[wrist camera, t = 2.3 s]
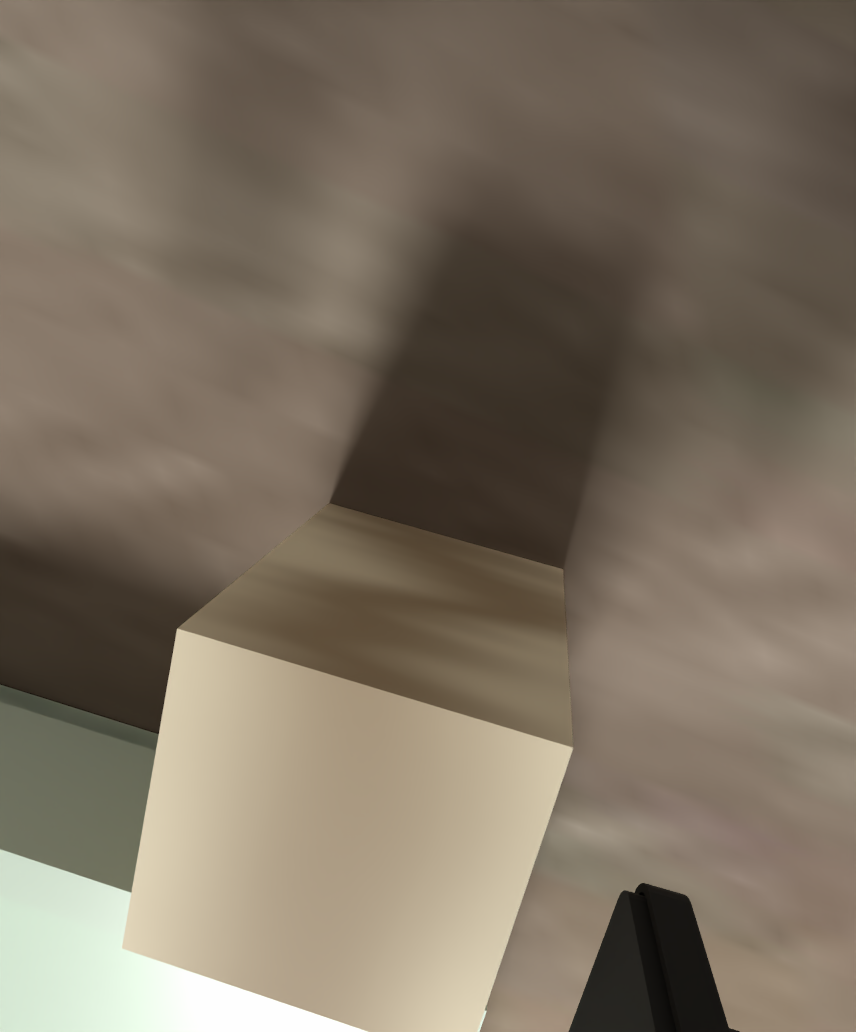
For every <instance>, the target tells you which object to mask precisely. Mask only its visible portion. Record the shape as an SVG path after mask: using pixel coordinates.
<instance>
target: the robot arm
mask: <svg viewBox="0 0 856 1032" xmlns="http://www.w3.org/2000/svg"><path fill="white" fill-rule="evenodd" d="M569 1032H739V1031H737V1030H733V1029H730V1028H729V1027H728V1024H727V1020H726V1017H725V1014H724V1011H723V1007H722V1004H721V1001H720V997H719V994H718V991H717V987H716V984H715V981H714V977H713V974H712V971H711V968H710V964H709V961H708V958H707V954H706V951H705V948H704V944H703V941H702V938H701V935H700V931H699V928H698V925H697V921H696V918H695V915H694V911H693V908H692V905H691V902H690V900H689V898H688V897H687V896H686V895H683V894H680V893H676V892H673V891H670V890H666V889H663V888H659V887H656V886H652V885H649V884H645V883H642V884H640V885H639V886H638V887H637V888H636V891H635V893H633V892H629V891H626V890H625V891H623V892H622V893H621V894H620V896H619V898H618V901H617V903H616V906H615V909H614V911H613V914H612V917H611V919H610V922H609V925H608V928H607V930H606V933H605V936H604V938H603V941H602V944H601V946H600V949H599V952H598V954H597V957H596V960H595V963H594V965H593V968H592V971H591V973H590V976H589V979H588V981H587V984H586V987H585V989H584V992H583V995H582V997H581V1000H580V1003H579V1006H578V1008H577V1011H576V1014H575V1016H574V1019H573V1022H572V1024H571V1027H570V1030H569Z"/></svg>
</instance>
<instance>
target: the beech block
mask: <svg viewBox="0 0 856 1032" xmlns="http://www.w3.org/2000/svg"><path fill="white" fill-rule="evenodd" d="M572 750H573V733H572V715H571V698H570V681H569V663H568V646H567V629H566V611H565V594H564V577H563V569H560V568H557V567H553V566H550V565H546V564H542V563H539V562H535V561H532V560H528V559H525V558H521V557H518V556H514V555H511V554H507V553H504V552H500V551H497V550H493V549H489V548H486V547H482V546H479V545H475V544H472V543H468V542H465V541H461V540H458V539H454V538H451V537H447V536H444V535H440V534H436V533H433V532H429V531H426V530H422V529H419V528H415V527H412V526H408V525H405V524H401V523H398V522H394V521H390V520H387V519H383V518H380V517H376V516H373V515H369V514H366V513H362V512H359V511H355V510H352V509H348V508H345V507H341V506H337V505H334V504H330V503H329V504H328V505H326V506H325V507H324V508H323V509H322V510H320V511H319V512H318V513H317V514H315V515H314V516H313V517H312V518H311V519H309V520H308V521H307V522H306V523H305V524H303V525H302V526H301V527H300V528H298V529H297V530H296V531H295V532H294V533H292V534H291V535H290V536H289V537H288V538H286V539H285V540H284V541H283V542H281V543H280V544H279V545H278V546H277V547H275V548H274V549H273V550H272V551H271V552H269V553H268V554H267V555H266V556H264V557H263V558H262V559H261V560H260V561H258V562H257V563H256V564H255V565H254V566H252V567H251V568H250V569H249V570H247V571H246V572H245V573H244V574H243V575H241V576H240V577H239V578H238V579H237V580H235V581H234V582H233V583H232V584H230V585H229V586H228V587H227V588H226V589H224V590H223V591H222V592H221V593H220V594H218V595H217V596H216V597H215V598H213V599H212V600H211V601H210V602H209V603H207V604H206V605H205V606H204V607H203V608H201V609H200V610H199V611H198V612H197V613H195V614H194V615H193V616H192V617H190V618H189V619H188V620H187V621H186V622H184V623H183V624H182V625H181V626H180V627H178V628H177V632H176V638H175V644H174V650H173V655H172V661H171V667H170V673H169V678H168V684H167V690H166V696H165V702H164V707H163V713H162V719H161V725H160V730H159V736H158V742H157V748H156V754H155V759H154V765H153V771H152V777H151V782H150V788H149V794H148V800H147V805H146V811H145V817H144V823H143V829H142V834H141V840H140V846H139V852H138V857H137V863H136V869H135V875H134V881H133V886H132V892H131V898H130V904H129V909H128V915H127V921H126V927H125V933H124V938H123V944H122V949H125V950H128V951H131V952H134V953H137V954H140V955H143V956H146V957H149V958H151V959H154V960H157V961H160V962H163V963H166V964H169V965H172V966H175V967H178V968H181V969H184V970H187V971H190V972H193V973H196V974H199V975H202V976H205V977H208V978H211V979H214V980H216V981H219V982H222V983H225V984H228V985H231V986H234V987H237V988H240V989H243V990H246V991H249V992H252V993H255V994H258V995H261V996H264V997H267V998H270V999H273V1000H276V1001H278V1002H281V1003H284V1004H287V1005H290V1006H293V1007H296V1008H299V1009H302V1010H305V1011H308V1012H311V1013H314V1014H317V1015H320V1016H323V1017H326V1018H329V1019H332V1020H335V1021H338V1022H341V1023H343V1024H346V1025H349V1026H352V1027H355V1028H358V1029H361V1030H364V1031H367V1032H477V1031H478V1028H479V1025H480V1022H481V1019H482V1016H483V1013H484V1011H485V1008H486V1005H487V1002H488V999H489V996H490V993H491V990H492V987H493V984H494V981H495V978H496V975H497V972H498V969H499V966H500V963H501V960H502V957H503V954H504V951H505V948H506V946H507V943H508V940H509V937H510V934H511V931H512V928H513V925H514V922H515V919H516V916H517V913H518V910H519V907H520V904H521V901H522V898H523V895H524V892H525V889H526V886H527V883H528V880H529V878H530V875H531V872H532V869H533V866H534V863H535V860H536V857H537V854H538V851H539V848H540V845H541V842H542V839H543V836H544V833H545V830H546V827H547V824H548V821H549V818H550V815H551V813H552V810H553V807H554V804H555V801H556V798H557V795H558V792H559V789H560V786H561V783H562V780H563V777H564V774H565V771H566V768H567V765H568V762H569V759H570V756H571V753H572Z"/></svg>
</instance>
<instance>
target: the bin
mask: <svg viewBox="0 0 856 1032" xmlns="http://www.w3.org/2000/svg"><path fill="white" fill-rule="evenodd" d="M158 736H159V734H156V733H153V732H150V731H146V730H143V729H140V728H137V727H134V726H131V725H127V724H124V723H121V722H118V721H115V720H111V719H108V718H105V717H102V716H99V715H95V714H92V713H89V712H86V711H83V710H80V709H76V708H73V707H70V706H67V705H64V704H60V703H57V702H54V701H51V700H48V699H45V698H41V697H38V696H35V695H32V694H29V693H25V692H22V691H19V690H16V689H13V688H9V687H6V686H3V685H0V1032H367V1031H364V1030H361V1029H358V1028H355V1027H352V1026H349V1025H346V1024H343V1023H341V1022H338V1021H335V1020H332V1019H329V1018H326V1017H323V1016H320V1015H317V1014H314V1013H311V1012H308V1011H305V1010H302V1009H299V1008H296V1007H293V1006H290V1005H287V1004H284V1003H281V1002H278V1001H276V1000H273V999H270V998H267V997H264V996H261V995H258V994H255V993H252V992H249V991H246V990H243V989H240V988H237V987H234V986H231V985H228V984H225V983H222V982H219V981H216V980H214V979H211V978H208V977H205V976H202V975H199V974H196V973H193V972H190V971H187V970H184V969H181V968H178V967H175V966H172V965H169V964H166V963H163V962H160V961H157V960H154V959H151V958H149V957H146V956H143V955H140V954H137V953H134V952H131V951H128V950H125V949H122V944H123V938H124V933H125V927H126V921H127V915H128V909H129V904H130V898H131V892H132V886H133V881H134V875H135V869H136V863H137V857H138V852H139V846H140V840H141V834H142V829H143V823H144V817H145V811H146V805H147V800H148V794H149V788H150V782H151V777H152V771H153V765H154V759H155V754H156V748H157V742H158ZM486 1011H487V1005H486V1008H485V1011H484V1013H483V1016H482V1019H481V1022H480V1025H479V1028H478V1031H477V1032H480V1029H481V1026H482V1023H483V1020H484V1017H485V1014H486Z"/></svg>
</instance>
